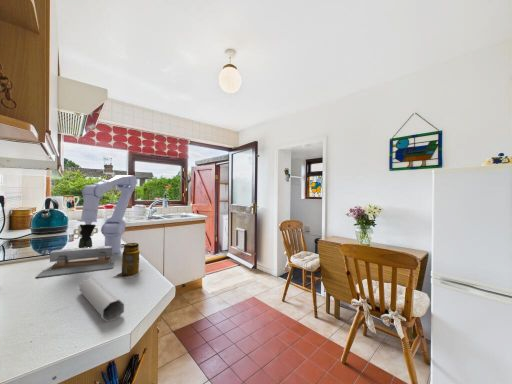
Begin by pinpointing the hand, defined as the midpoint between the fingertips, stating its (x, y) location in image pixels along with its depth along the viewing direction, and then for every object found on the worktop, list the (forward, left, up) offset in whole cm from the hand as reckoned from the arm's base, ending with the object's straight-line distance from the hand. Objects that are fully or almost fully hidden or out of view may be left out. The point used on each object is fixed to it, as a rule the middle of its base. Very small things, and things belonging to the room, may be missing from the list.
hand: (85, 240), depth 96 cm
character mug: (-32, -5, -11) cm, 34 cm away
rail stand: (-1, -1, -11) cm, 11 cm away
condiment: (+22, +17, -11) cm, 30 cm away
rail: (-1, -1, -8) cm, 8 cm away
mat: (+8, -1, -11) cm, 13 cm away
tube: (+44, +10, -11) cm, 46 cm away
